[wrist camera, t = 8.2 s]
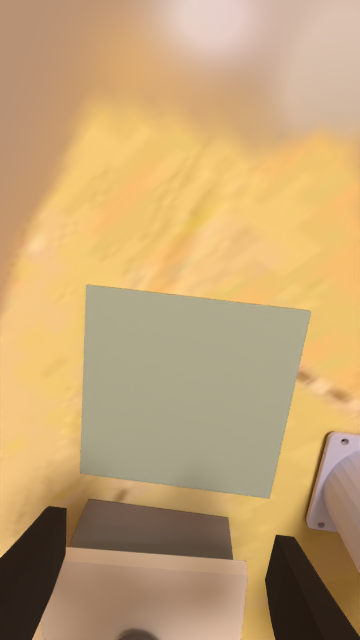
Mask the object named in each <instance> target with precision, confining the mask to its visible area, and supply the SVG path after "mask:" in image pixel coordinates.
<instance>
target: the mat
mask: <svg viewBox="0 0 360 640" xmlns="http://www.w3.org/2000/svg"><path fill="white" fill-rule="evenodd" d="M310 315H311V311H309V310H302V309H293V308H285V307H276V306H268V305H259V304H251V303H242V302H234V301H225V300H216V299H208V298H199V297H191V296H182V295H174V294H165V293H157V292H148V291H140V290H131V289H122V288H114V287H105V286H97V285H86V308H85V339H84V370H83V400H82V431H81V462H80V474H87V475H95V476H103V477H110V478H118V479H125V480H133V481H140V482H148V483H155V484H163V485H170V486H178V487H185V488H193V489H200V490H208V491H215V492H223V493H231V494H238V495H246V496H253V497H261V498H268V499H270V495H271V490H272V486H273V481H274V477H275V472H276V468H277V463H278V459H279V454H280V450H281V445H282V441H283V436H284V432H285V427H286V423H287V419H288V414H289V410H290V405H291V401H292V396H293V392H294V387H295V383H296V378H297V374H298V369H299V365H300V360H301V356H302V351H303V347H304V342H305V338H306V333H307V329H308V324H309V320H310Z"/></svg>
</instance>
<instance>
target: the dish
mask: <svg viewBox="0 0 360 640" xmlns="http://www.w3.org/2000/svg"><path fill="white" fill-rule="evenodd" d="M68 547H72V548H85V549H98V550H110V551H123V552H136V553H149V554H162V555H175V556H188V557H201V558H214V559H227V560H233V554H232V546H231V537H230V529H229V521H228V518H227V517H219V516H212V515H205V514H197V513H190V512H182V511H175V510H167V509H160V508H153V507H145V506H138V505H130V504H123V503H116V502H108V501H101V500H93V499H89V500H88V502H87V504H86V507H85V509H84V511H83V514H82V516H81V518H80V521H79V523H78V525H77V528H76V530H75V532H74V535H73V537H72V539H71V542H70V544H69V546H68Z"/></svg>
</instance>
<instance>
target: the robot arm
mask: <svg viewBox="0 0 360 640" xmlns="http://www.w3.org/2000/svg"><path fill="white" fill-rule="evenodd" d="M342 439H345V441H343V442H341V440H342ZM66 511H67V508H60V507H52V506H49V507H47V508H46V509H45V510H44V511H43V512H42V513H41V515H40V516H39V517H38V518H37V519H36V520H35V521H34V522H33V524H32V525H31V526H30V527H29V528H28V529H27V530H26V531H25V532H24V534H23V535H22V536H21V537H20V538H19V539H18V540H17V541H16V542H15V543H14V544H13V545H12V547H11V548H10V549H9V550H8V551H7V552H6V553H5V554H4V555H3V556H2V557H1V558H0V640H32V638H33V636H34V634H35V631H36V629H37V627H38V625H39V622H40V620H41V618H42V616H43V613H44V611H45V609H46V607H47V604H48V602H49V600H50V597H51V595H52V593H53V590H54V587H55V584H56V581H57V579H58V576H59V573H60V570H61V567H62V564H63V561H64V558H65V555H66ZM320 522H321V523H320ZM306 523H307V525H308V527H309V528H311V529H317V530H324V531H331V532H338V533H339V535H340V537H341V539H342V541H343V543H344V545H345V547H346V549H347V551H348V553H349V555H350V556H351V558H352V560H353V562H354V564H355V566H356V568H357V570H358V572H359V574H360V434H352V433H344V432H331V433H330V434H329V435H328V437H327V441H326V445H325V448H324V452H323V456H322V460H321V464H320V467H319V471H318V475H317V479H316V482H315V486H314V490H313V494H312V498H311V501H310V505H309V509H308V513H307V516H306ZM265 583H266V590H267V597H268V604H269V610H270V617H271V623H272V627H273V631H274V636H275V640H360V636H359V635H358V633H357V632H356V631H355V629H354V628H353V626H352V625H351V623H350V622H349V621H348V619H347V618H346V616H345V615H344V613H343V612H342V610H341V609H340V607H339V606H338V604H337V603H336V601H335V600H334V598H333V597H332V595H331V594H330V592H329V591H328V589H327V588H326V586H325V585H324V583H323V582H322V580H321V578H320V577H319V575H318V574H317V572H316V571H315V569H314V567H313V566H312V564H311V563H310V561H309V560H308V558H307V556H306V555H305V553H304V552H303V550H302V548H301V547H300V545H299V544H298V542H297V540H296V539H295V538H294V537H290V536H282V535H276V537H275V541H274V545H273V549H272V553H271V557H270V562H269V566H268V570H267V574H266V578H265Z"/></svg>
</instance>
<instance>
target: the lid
mask: <svg viewBox="0 0 360 640" xmlns="http://www.w3.org/2000/svg"><path fill="white" fill-rule="evenodd" d="M247 581H248V572H247V566H246V561H240V560H227V559H214V558H201V557H188V556H175V555H162V554H149V553H136V552H123V551H110V550H98V549H85V548H72V547H66V555H65V558H64V561H63V564H62V567H61V570H60V573H59V576H58V579H57V581H56V584H55V587H54V590H53V593H52V595H51V597H50V600H49V602H48V604H47V607H46V609H45V611H44V613H43V616H42V618H41V621H42V630H43V639H44V640H241V634H242V625H243V616H244V607H245V598H246V589H247Z"/></svg>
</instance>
